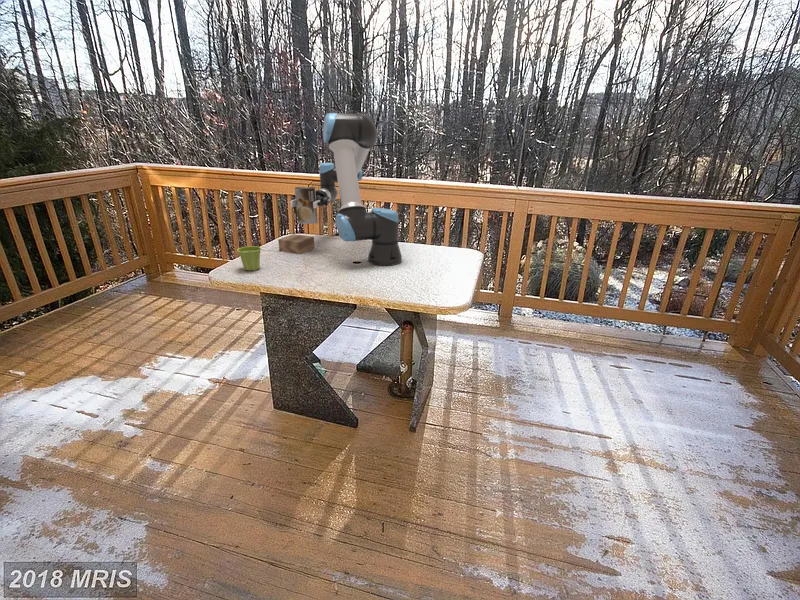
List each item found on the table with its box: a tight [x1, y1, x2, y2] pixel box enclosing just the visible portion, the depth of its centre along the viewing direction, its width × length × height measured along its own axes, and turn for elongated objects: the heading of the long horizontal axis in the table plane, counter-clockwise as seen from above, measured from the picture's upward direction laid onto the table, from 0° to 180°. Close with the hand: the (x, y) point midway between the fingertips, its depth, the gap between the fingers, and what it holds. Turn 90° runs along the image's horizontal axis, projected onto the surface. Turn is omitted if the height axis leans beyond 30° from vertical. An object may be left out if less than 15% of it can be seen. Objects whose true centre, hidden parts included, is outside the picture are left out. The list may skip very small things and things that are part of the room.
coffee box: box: [294, 186, 319, 225], centre depth 183 cm, size 9×6×16 cm
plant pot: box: [236, 245, 262, 272], centre depth 164 cm, size 9×9×9 cm
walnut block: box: [277, 233, 316, 255], centre depth 192 cm, size 12×12×6 cm
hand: (302, 204), depth 179 cm, fingers closed on coffee box, 10 cm apart
